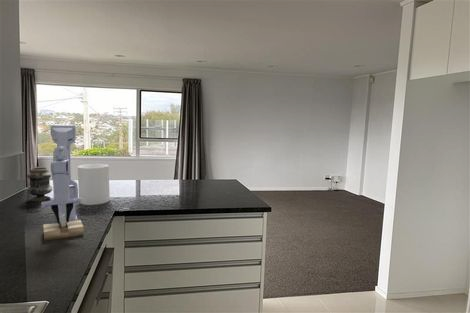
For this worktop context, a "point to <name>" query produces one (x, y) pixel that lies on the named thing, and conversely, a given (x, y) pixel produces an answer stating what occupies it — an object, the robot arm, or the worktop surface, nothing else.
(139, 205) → the worktop surface
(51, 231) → the slotted tan block
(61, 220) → the silver rectangular block
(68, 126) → the robot arm
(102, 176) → the canister
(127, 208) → the white patterned panel
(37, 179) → the apothecary jar
